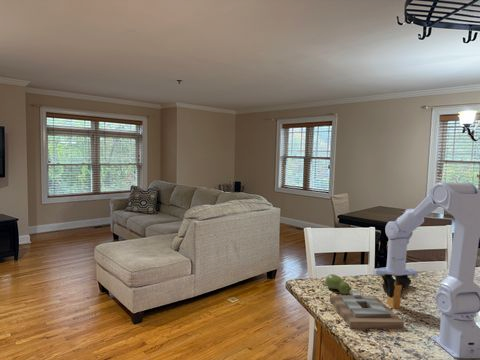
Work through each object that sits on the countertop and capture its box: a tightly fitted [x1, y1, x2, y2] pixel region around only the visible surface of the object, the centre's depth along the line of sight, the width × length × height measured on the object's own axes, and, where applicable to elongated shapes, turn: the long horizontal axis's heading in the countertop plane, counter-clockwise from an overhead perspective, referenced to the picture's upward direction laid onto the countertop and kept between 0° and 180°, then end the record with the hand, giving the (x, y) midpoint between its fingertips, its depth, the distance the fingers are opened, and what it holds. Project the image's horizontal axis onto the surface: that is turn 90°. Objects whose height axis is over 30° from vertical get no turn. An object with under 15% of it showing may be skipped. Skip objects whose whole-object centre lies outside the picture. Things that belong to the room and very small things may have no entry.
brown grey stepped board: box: [329, 289, 405, 330], centre depth 104 cm, size 18×16×4 cm
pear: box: [325, 273, 352, 295], centre depth 123 cm, size 6×5×10 cm
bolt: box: [381, 279, 412, 294], centre depth 126 cm, size 6×5×15 cm
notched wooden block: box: [386, 281, 402, 309], centre depth 111 cm, size 5×2×8 cm, turn 3°
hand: (393, 296), depth 111 cm, fingers closed on notched wooden block, 2 cm apart
